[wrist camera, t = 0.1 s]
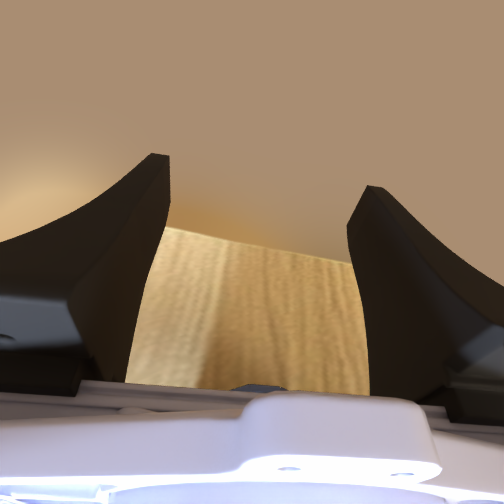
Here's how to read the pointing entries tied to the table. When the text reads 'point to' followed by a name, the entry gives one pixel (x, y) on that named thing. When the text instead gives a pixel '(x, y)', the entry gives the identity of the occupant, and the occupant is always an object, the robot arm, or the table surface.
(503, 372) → the robot arm
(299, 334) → the table surface
